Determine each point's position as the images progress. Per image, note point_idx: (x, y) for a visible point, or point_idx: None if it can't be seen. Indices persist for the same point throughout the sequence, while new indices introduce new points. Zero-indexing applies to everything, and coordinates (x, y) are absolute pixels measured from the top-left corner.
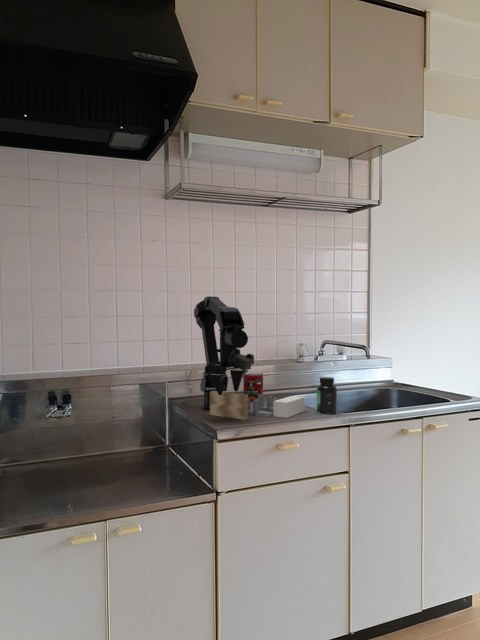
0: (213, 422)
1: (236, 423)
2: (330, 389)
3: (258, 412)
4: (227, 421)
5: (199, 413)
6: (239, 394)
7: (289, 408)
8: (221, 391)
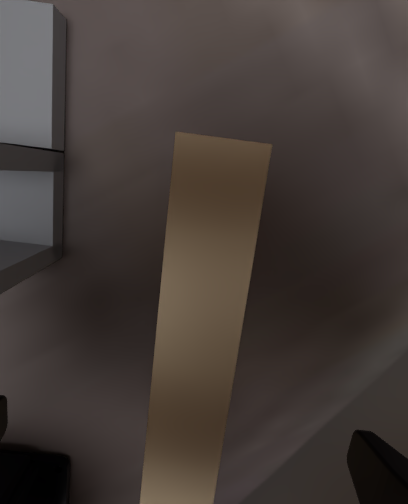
0: (387, 304)
1: (364, 157)
2: None
3: (51, 118)
4: (328, 241)
5: None
6: (224, 250)
7: None
8: (405, 462)
